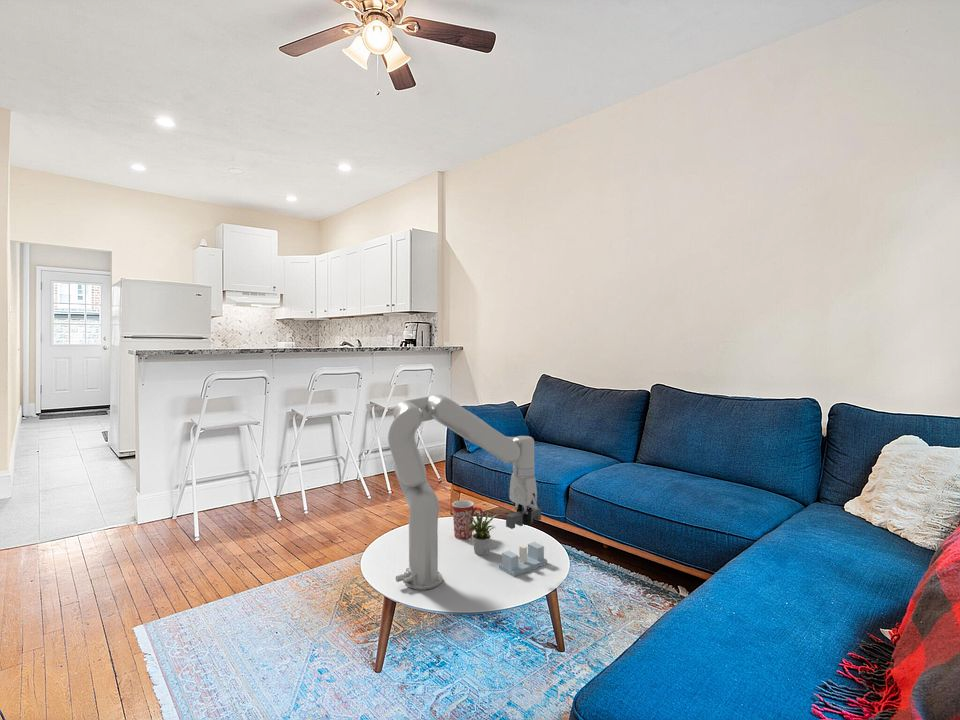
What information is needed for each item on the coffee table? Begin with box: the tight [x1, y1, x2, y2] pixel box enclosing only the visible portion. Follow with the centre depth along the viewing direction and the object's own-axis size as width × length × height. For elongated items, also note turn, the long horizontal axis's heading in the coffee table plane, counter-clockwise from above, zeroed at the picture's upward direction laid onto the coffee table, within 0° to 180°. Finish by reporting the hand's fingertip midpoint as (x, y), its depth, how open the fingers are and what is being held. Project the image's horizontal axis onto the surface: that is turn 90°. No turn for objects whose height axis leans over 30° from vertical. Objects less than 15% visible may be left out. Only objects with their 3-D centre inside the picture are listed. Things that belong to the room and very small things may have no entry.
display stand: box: [498, 541, 548, 577], centre depth 178 cm, size 16×8×7 cm, turn 127°
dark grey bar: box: [505, 507, 542, 530], centre depth 177 cm, size 14×3×4 cm, turn 127°
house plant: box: [464, 510, 499, 556], centre depth 189 cm, size 14×14×16 cm
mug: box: [451, 499, 484, 540], centre depth 205 cm, size 13×9×14 cm
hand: (523, 522), depth 177 cm, fingers closed on dark grey bar, 3 cm apart
